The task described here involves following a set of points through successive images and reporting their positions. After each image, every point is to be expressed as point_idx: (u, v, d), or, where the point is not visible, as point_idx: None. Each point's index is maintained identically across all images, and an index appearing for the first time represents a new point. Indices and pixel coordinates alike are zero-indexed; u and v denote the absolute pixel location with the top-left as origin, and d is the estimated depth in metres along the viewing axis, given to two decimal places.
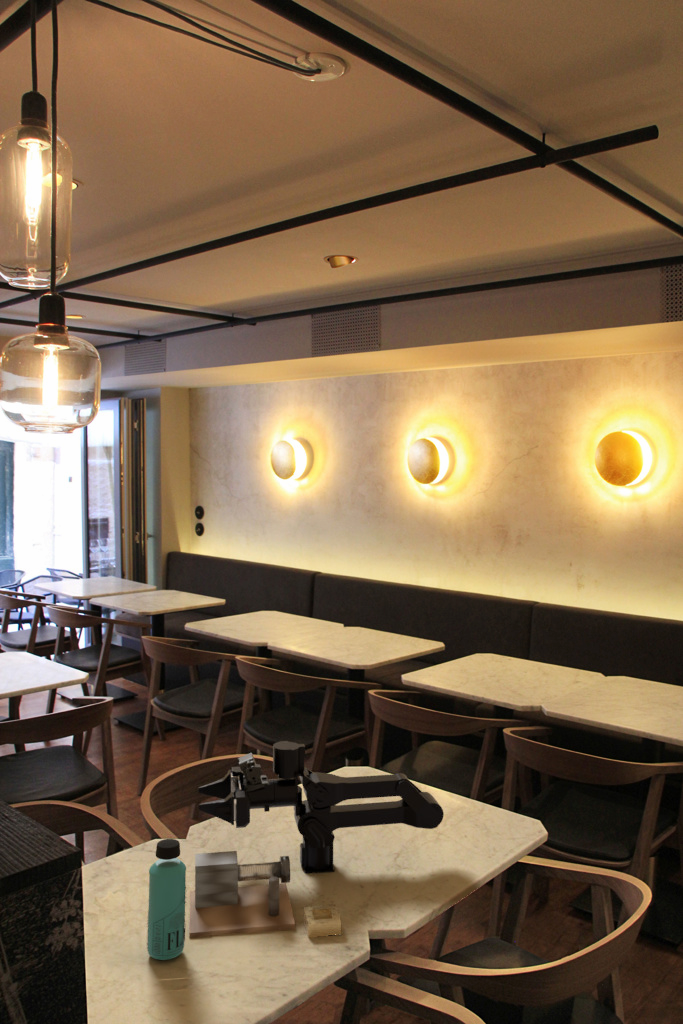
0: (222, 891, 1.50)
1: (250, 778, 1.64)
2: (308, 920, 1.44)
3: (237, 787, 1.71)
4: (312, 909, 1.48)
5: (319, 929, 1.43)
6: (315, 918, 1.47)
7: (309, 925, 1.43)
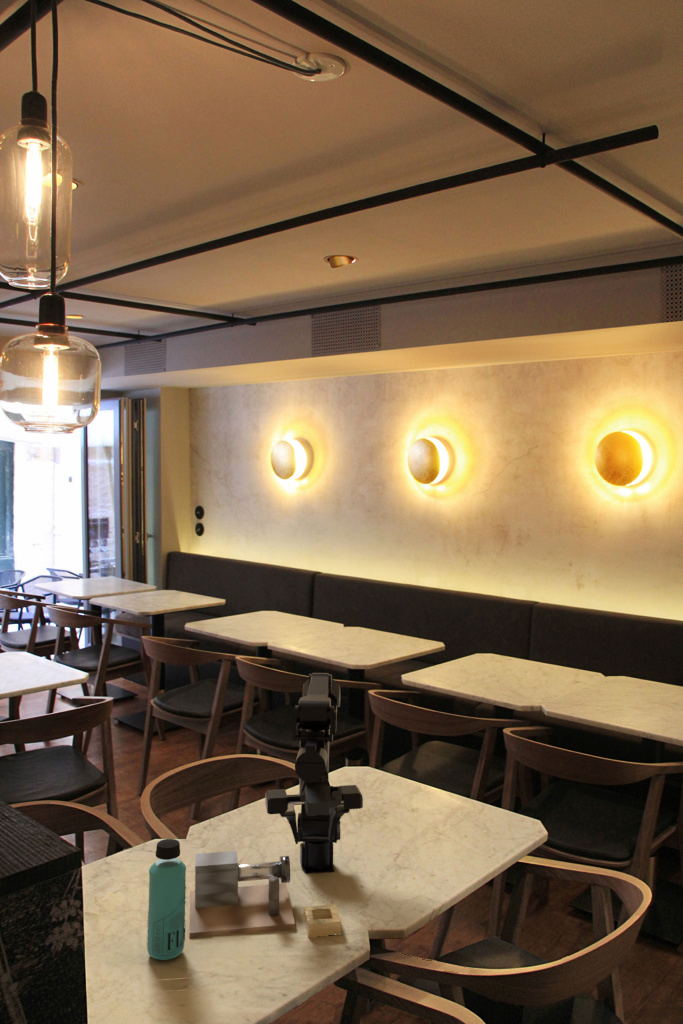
0: (222, 891, 1.50)
1: None
2: (308, 920, 1.44)
3: None
4: (312, 909, 1.48)
5: (319, 929, 1.43)
6: (315, 918, 1.47)
7: (309, 925, 1.43)
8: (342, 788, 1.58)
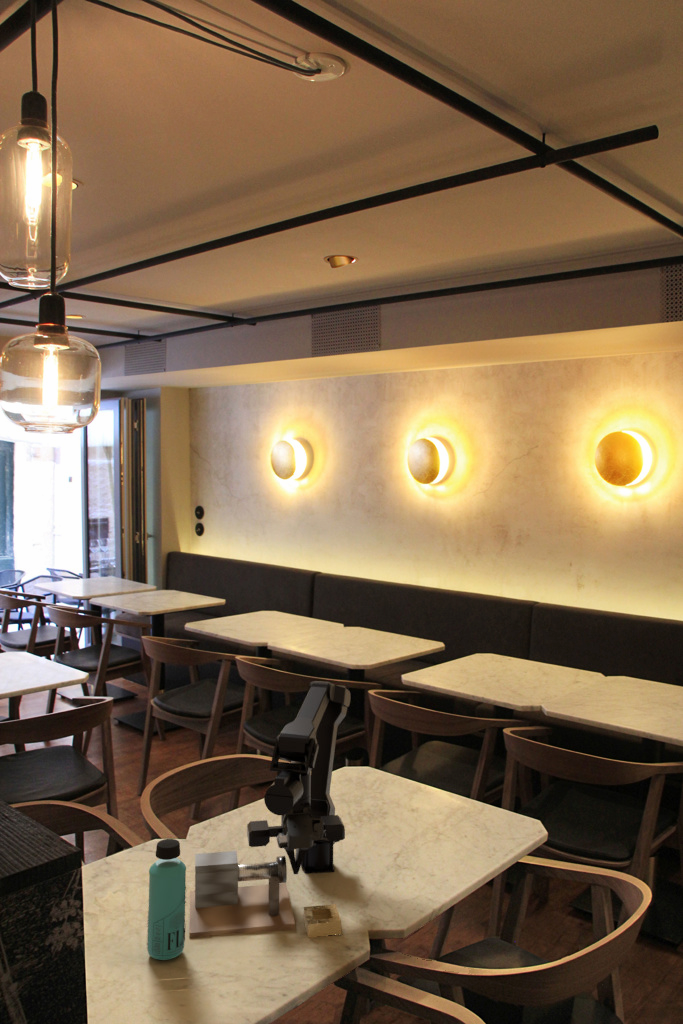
0: (222, 891, 1.50)
1: None
2: (308, 920, 1.44)
3: (278, 834, 1.55)
4: (312, 909, 1.48)
5: (319, 929, 1.43)
6: (315, 918, 1.47)
7: (309, 925, 1.43)
8: (324, 819, 1.57)
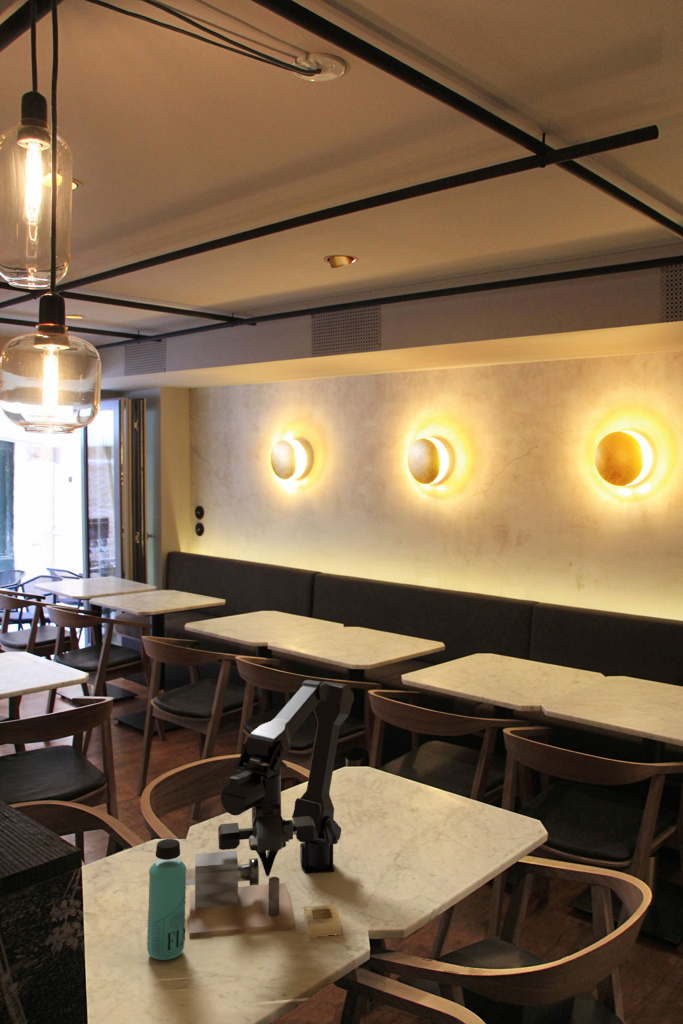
0: (222, 891, 1.50)
1: None
2: (308, 920, 1.44)
3: (249, 836, 1.54)
4: (312, 909, 1.48)
5: (319, 929, 1.43)
6: (315, 918, 1.47)
7: (309, 925, 1.43)
8: (296, 820, 1.56)
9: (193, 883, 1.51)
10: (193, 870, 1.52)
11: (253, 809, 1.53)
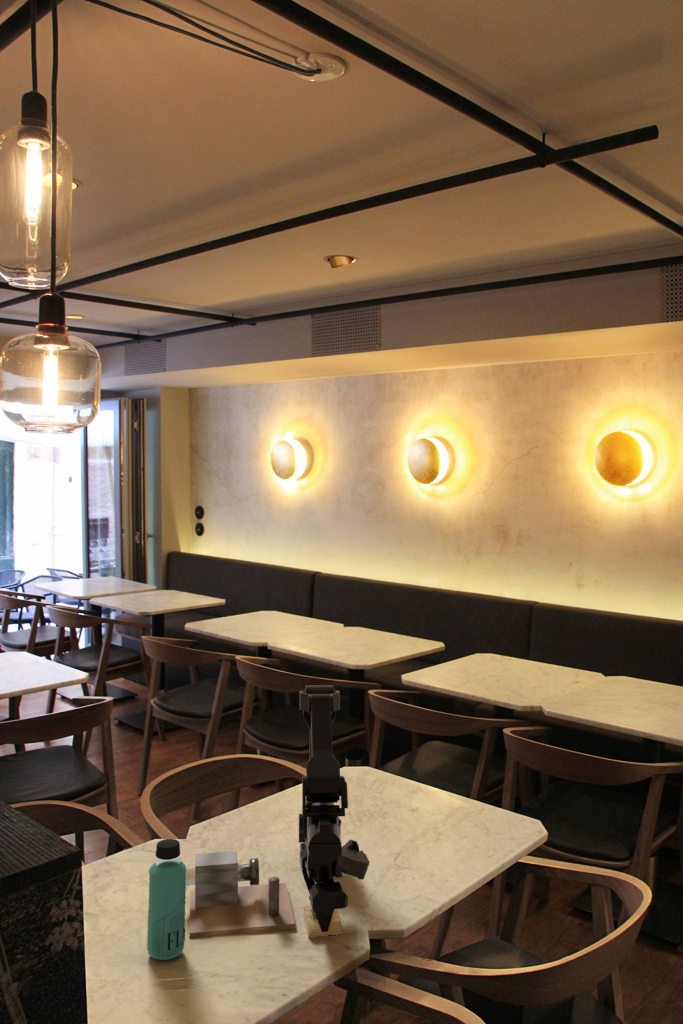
0: (222, 891, 1.50)
1: None
2: (308, 920, 1.44)
3: None
4: (312, 909, 1.48)
5: (319, 929, 1.43)
6: (315, 918, 1.47)
7: (309, 925, 1.43)
8: None
9: (193, 883, 1.51)
10: (193, 870, 1.52)
11: None
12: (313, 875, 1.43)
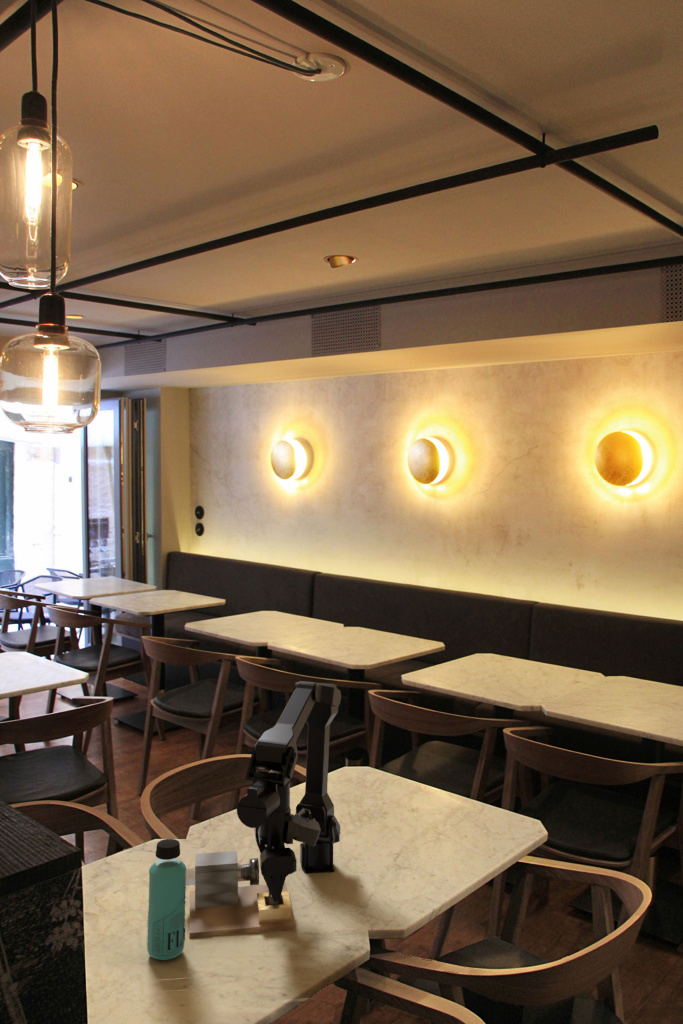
0: (222, 891, 1.50)
1: None
2: (259, 906, 1.46)
3: None
4: (265, 895, 1.50)
5: (270, 915, 1.45)
6: (268, 904, 1.50)
7: (260, 911, 1.45)
8: None
9: (193, 883, 1.51)
10: (193, 870, 1.52)
11: (281, 821, 1.45)
12: (264, 841, 1.45)
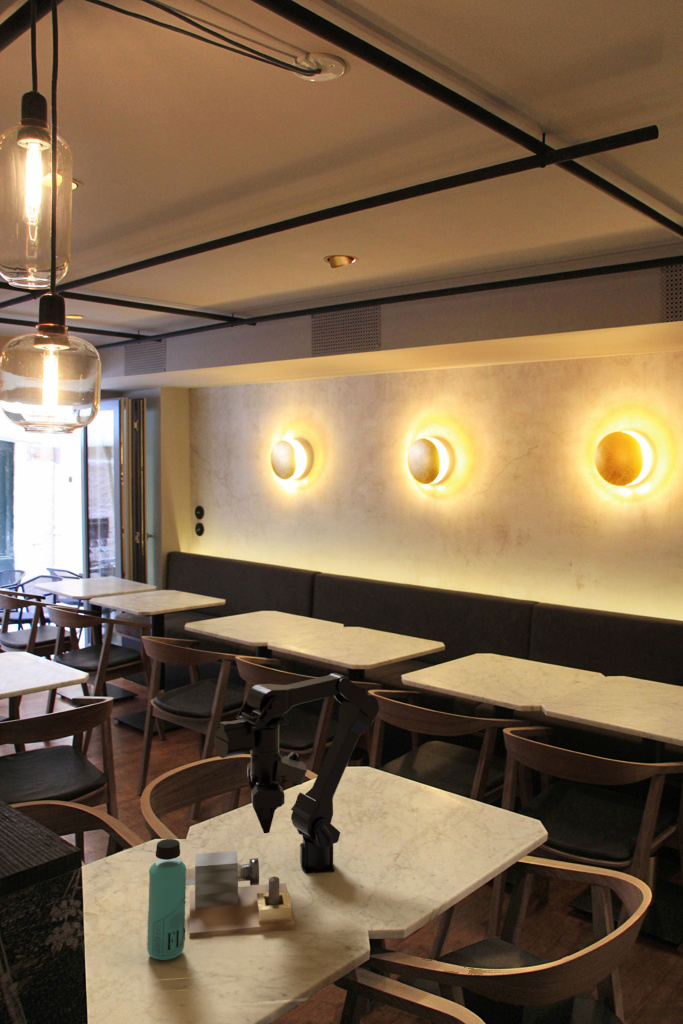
0: (222, 891, 1.50)
1: None
2: (259, 906, 1.46)
3: None
4: (265, 895, 1.50)
5: (270, 915, 1.45)
6: (268, 904, 1.50)
7: (260, 911, 1.45)
8: None
9: (193, 883, 1.51)
10: (193, 870, 1.52)
11: (271, 760, 1.60)
12: (255, 779, 1.60)
